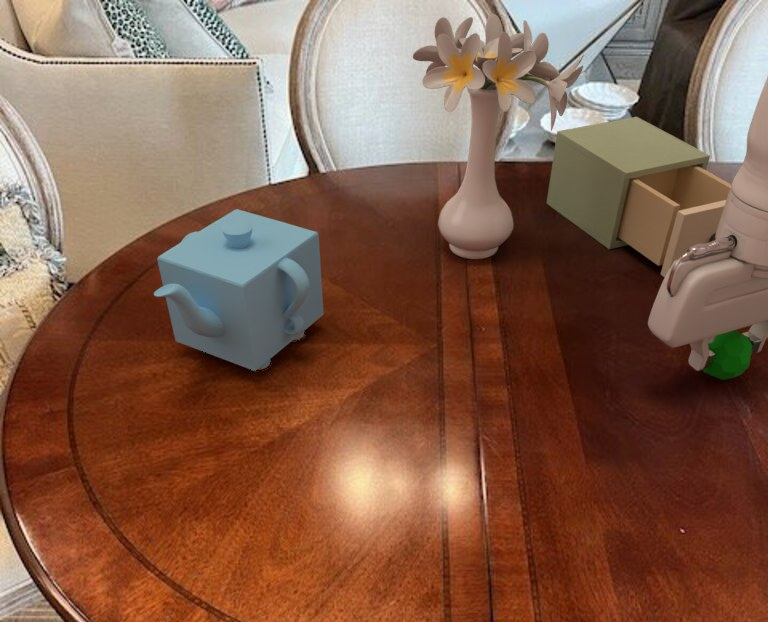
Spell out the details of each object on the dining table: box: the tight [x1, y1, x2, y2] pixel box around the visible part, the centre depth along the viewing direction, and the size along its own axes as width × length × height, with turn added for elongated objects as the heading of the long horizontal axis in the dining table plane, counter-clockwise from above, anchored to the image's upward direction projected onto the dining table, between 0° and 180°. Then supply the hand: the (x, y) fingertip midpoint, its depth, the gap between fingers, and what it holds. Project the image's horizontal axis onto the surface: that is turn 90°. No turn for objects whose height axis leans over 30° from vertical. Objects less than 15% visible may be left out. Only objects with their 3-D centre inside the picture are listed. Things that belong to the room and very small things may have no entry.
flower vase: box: [412, 13, 585, 260], centre depth 90 cm, size 13×18×25 cm
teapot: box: [153, 208, 325, 372], centre depth 78 cm, size 18×16×13 cm
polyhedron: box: [702, 330, 752, 381], centre depth 79 cm, size 5×5×5 cm
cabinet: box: [546, 116, 711, 250], centre depth 102 cm, size 15×13×10 cm
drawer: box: [617, 165, 732, 278], centre depth 95 cm, size 15×11×8 cm
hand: (724, 358), depth 79 cm, fingers closed on polyhedron, 5 cm apart
